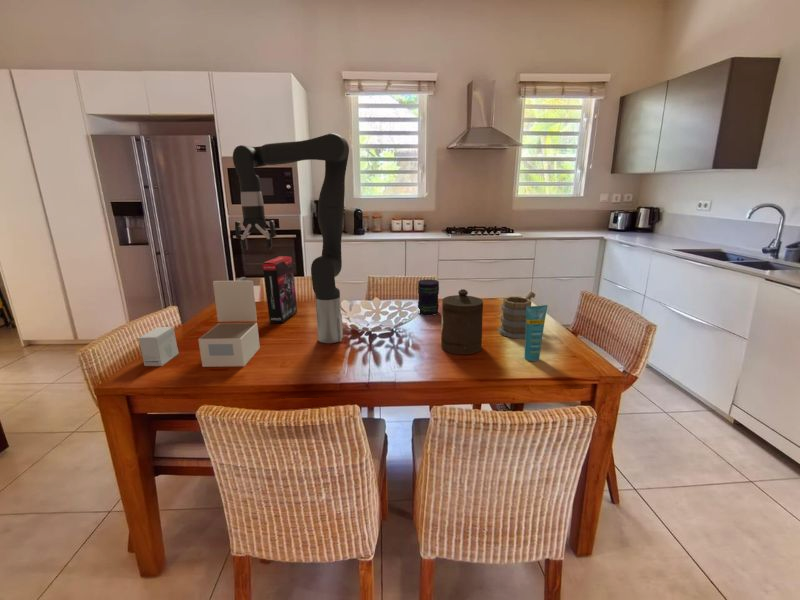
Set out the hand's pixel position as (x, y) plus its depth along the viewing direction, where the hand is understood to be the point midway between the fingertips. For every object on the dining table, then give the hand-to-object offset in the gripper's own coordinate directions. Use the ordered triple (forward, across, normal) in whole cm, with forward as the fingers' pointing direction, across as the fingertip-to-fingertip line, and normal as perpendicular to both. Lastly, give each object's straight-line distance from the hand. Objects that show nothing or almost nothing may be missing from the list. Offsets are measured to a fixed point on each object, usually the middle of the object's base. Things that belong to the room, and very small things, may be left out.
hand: (257, 249), depth 150 cm
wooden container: (+37, -75, +11) cm, 84 cm away
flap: (+17, +7, +10) cm, 21 cm away
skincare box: (+35, +31, +20) cm, 51 cm away
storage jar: (+37, -66, -32) cm, 82 cm away
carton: (+35, +7, +18) cm, 40 cm away
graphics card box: (+36, +1, -26) cm, 44 cm away
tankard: (+37, -102, -6) cm, 109 cm away
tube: (+38, -98, +22) cm, 107 cm away
